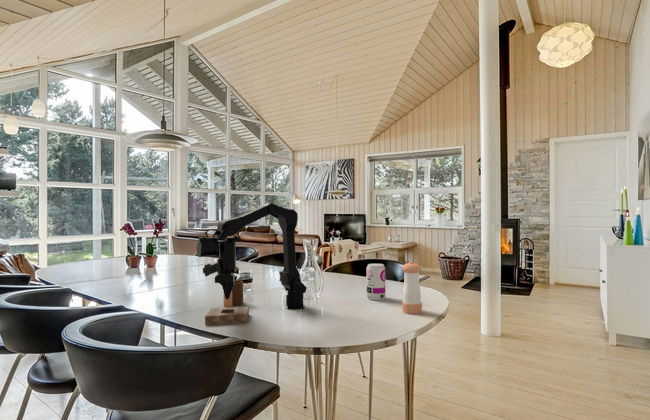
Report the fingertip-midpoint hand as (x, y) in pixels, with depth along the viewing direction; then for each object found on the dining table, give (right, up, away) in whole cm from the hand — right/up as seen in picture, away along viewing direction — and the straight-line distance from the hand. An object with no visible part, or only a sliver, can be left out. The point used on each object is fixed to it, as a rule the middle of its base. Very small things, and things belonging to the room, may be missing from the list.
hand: (227, 298), depth 129 cm
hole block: (0, -8, 0) cm, 8 cm away
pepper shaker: (+69, -7, +8) cm, 69 cm away
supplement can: (+58, -8, +29) cm, 65 cm away
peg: (0, -3, 0) cm, 3 cm away
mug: (-4, -8, +20) cm, 22 cm away
